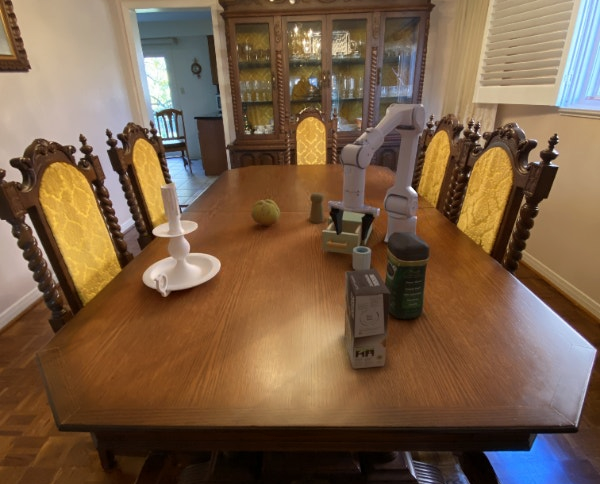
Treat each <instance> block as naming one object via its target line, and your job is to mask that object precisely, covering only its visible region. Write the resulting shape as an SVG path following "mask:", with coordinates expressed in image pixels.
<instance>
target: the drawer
mask: <svg viewBox="0 0 600 484" xmlns="http://www.w3.org/2000/svg"><path fill="white" fill-rule="evenodd" d="M361 241H362V224H356V223H347V222H342V233H341V234H339V235H337V234H336V229H335V225H334V223H333V221H332V222H331V224H330V225H329V226H328V225H327V228H326V229H322V230H321V251H323V252H329V253H330V252H331V253H339V254H346V255H352V256H353V249H354V248H355V247H359V246H361V245H360V243H361Z"/></svg>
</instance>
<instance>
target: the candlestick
mask: <svg viewBox="0 0 600 484" xmlns="http://www.w3.org/2000/svg"><path fill="white" fill-rule="evenodd" d="M160 194H161V199H162V205H163V209H164V216H165V217H167V222H164V223H161V224H159V225H157V226H156V227H154V228H153V229H152V230H151V231H152V232H151V233H152V234H153V235H154V236H155V237H160V238H169V242H168V245H167V253H168V255H169V257H165V258H162V259H161V260H159V261H156V262H154V263H152V264H151V265H149V267H147V269H146V270H145V271H144V272H143V274H142V279H141V280H142V282H143V284H144V285H145V286H146V287H149V288H151V289H154V290H156V291H157V292H159V293H160V295H161V297H164V298H165V297H168V296H169V295H170V294H171V292H172V291H183V290H188V289H191V288H195V287H196V286H199V285H201V284H205V282H208V281H209V280H211V279H213V278H214V277H215V276H216V275H217V274H218V273H219V272H220V270H221V261H220V259H218V258H217V257H216V256H214V255H211V254H208V253H207V254H206V253H203V252H202V253H201V252H191V251H190V250H191V246H190V243H189V241H188V240H187V239H186V238H185V235H188V234H190V233H192V232H194V231H196V230H197V229H198V228H199V227H198V225H199V224H198V223H197V222H196V221H192V220H184V219H183V220H181V217H182V214H181V209H180V203H179V197H178V191H177V183H175V182H170V183H168V184H167V183H164V184H162V185H161V186H160Z"/></svg>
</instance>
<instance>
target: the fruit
mask: <svg viewBox="0 0 600 484" xmlns="http://www.w3.org/2000/svg"><path fill="white" fill-rule="evenodd" d="M250 212H251V213H250V214H251V218H252V219H253V221H254V222H255V223H257V225H260V226H265V227H270V226H272V225H274V224H276V223H277V222H278V221H279V220H280V218H281V210H280V207H279V206H278V205H277V203H276V202H275V201H274V200H273V199H267V198H266V199H265V200H264V199H259V200H257V201H256V202H255V203H254V204H253V205H252V209H251V211H250Z"/></svg>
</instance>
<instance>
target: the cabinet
mask: <svg viewBox="0 0 600 484" xmlns="http://www.w3.org/2000/svg"><path fill="white" fill-rule="evenodd" d="M363 216H365V214H360V213H354V212H347V211H344V213H343V219H342V222H347V223H356V224H362V217H363ZM332 221H333V220H332V218H331V216H330V215H329V216H328V218H327V227H328V226H329V225H330V224H331V222H332ZM372 231H373V223H372V224H371V226H370V228H369V231H368V234H367V238H366V239H365V240H362V241H361V243H360V245H359V246H364V247H366V244H367V243H368V239H369V238H370V235H371V233H372Z"/></svg>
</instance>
